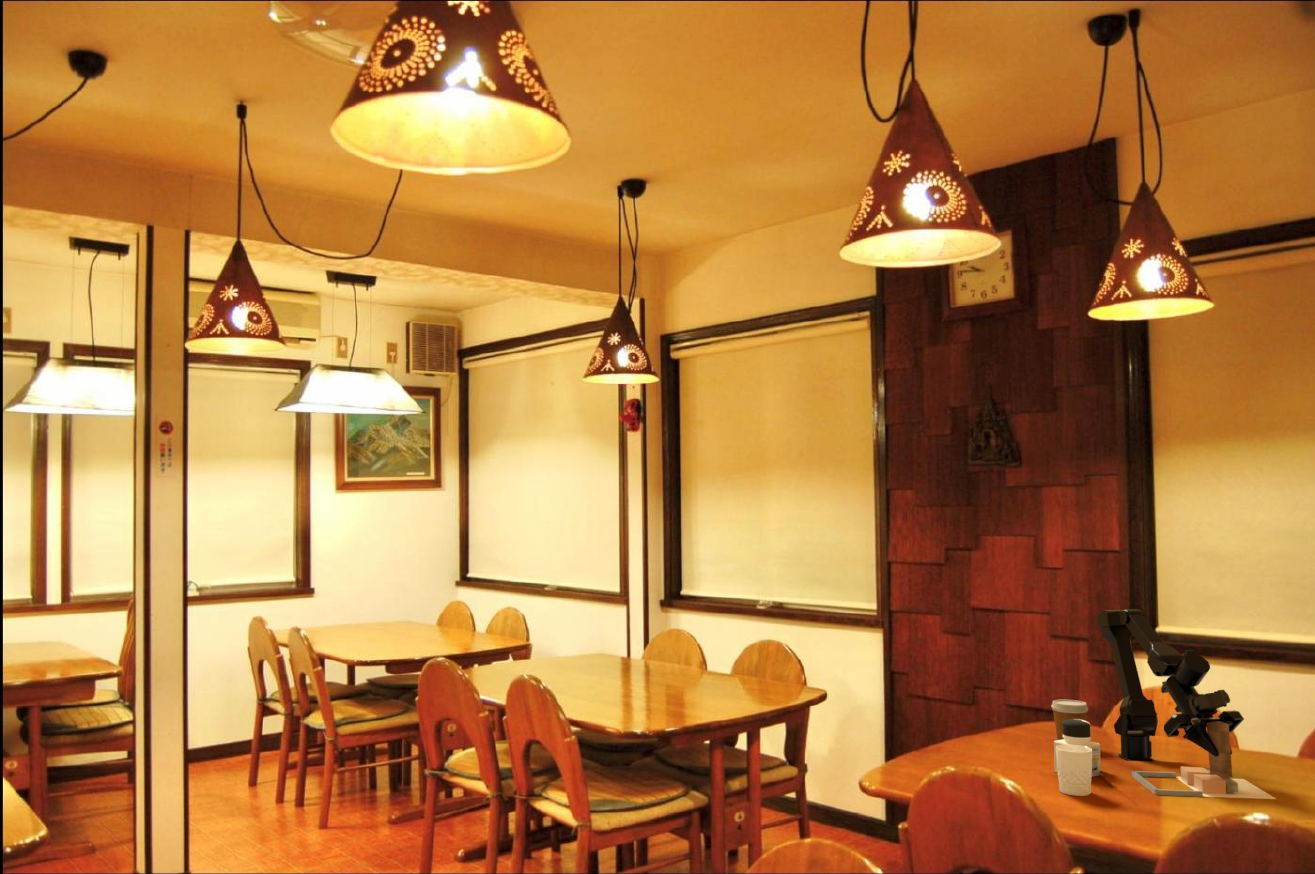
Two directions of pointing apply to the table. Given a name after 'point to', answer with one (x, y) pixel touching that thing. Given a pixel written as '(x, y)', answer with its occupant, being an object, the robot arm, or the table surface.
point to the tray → (1139, 776)
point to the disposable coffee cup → (1067, 713)
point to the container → (1079, 741)
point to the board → (1239, 791)
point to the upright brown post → (1221, 754)
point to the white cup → (1074, 769)
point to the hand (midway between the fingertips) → (1224, 755)
